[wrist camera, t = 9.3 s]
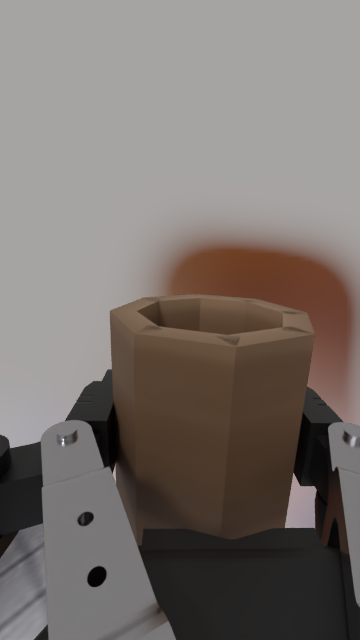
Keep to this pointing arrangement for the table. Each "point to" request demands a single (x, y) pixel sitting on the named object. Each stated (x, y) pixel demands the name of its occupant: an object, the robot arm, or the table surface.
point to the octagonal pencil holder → (207, 411)
